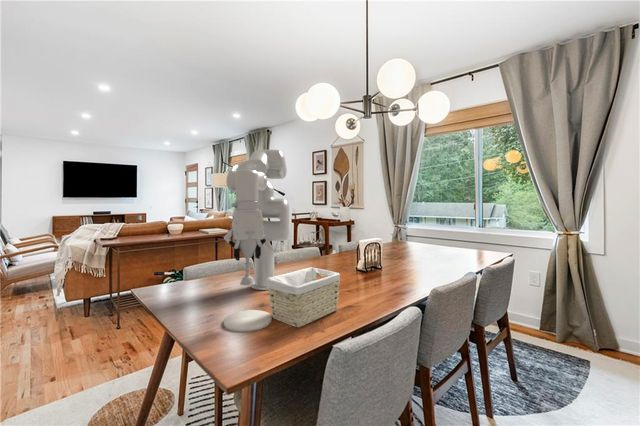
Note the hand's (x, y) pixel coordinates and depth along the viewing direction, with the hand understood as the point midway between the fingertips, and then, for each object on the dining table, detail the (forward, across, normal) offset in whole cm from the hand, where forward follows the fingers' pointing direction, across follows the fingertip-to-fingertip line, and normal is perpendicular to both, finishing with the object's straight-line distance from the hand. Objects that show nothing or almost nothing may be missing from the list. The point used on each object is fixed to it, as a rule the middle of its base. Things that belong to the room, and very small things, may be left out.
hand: (247, 258), depth 105 cm
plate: (+22, 0, 0) cm, 22 cm away
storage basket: (+22, +20, -2) cm, 30 cm away
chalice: (+9, 0, 0) cm, 9 cm away
